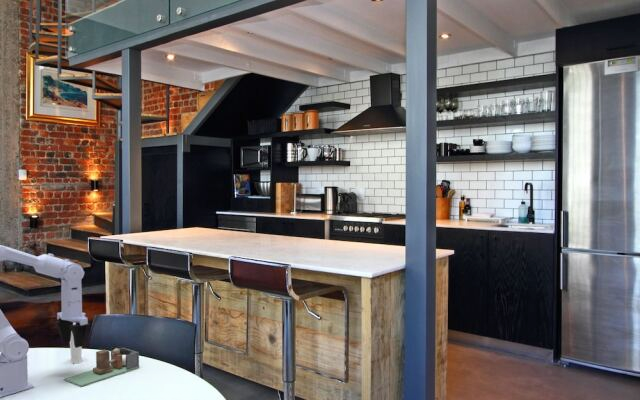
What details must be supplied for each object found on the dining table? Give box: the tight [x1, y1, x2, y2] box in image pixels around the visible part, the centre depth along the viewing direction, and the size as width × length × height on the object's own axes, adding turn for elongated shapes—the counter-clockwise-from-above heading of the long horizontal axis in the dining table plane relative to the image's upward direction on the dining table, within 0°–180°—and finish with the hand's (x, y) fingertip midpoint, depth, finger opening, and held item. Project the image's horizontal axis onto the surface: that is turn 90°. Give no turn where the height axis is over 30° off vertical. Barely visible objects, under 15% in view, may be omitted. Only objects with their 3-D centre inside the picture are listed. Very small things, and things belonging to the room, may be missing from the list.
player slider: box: [92, 347, 122, 374], centre depth 161 cm, size 8×4×6 cm, turn 144°
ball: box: [122, 355, 126, 366], centre depth 165 cm, size 4×4×4 cm
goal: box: [110, 347, 140, 370], centre depth 165 cm, size 4×9×5 cm, turn 54°
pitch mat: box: [63, 364, 139, 388], centre depth 159 cm, size 19×10×1 cm, turn 144°
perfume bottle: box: [69, 322, 83, 365], centre depth 171 cm, size 5×4×15 cm
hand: (72, 344), depth 159 cm, fingers open, 7 cm apart
